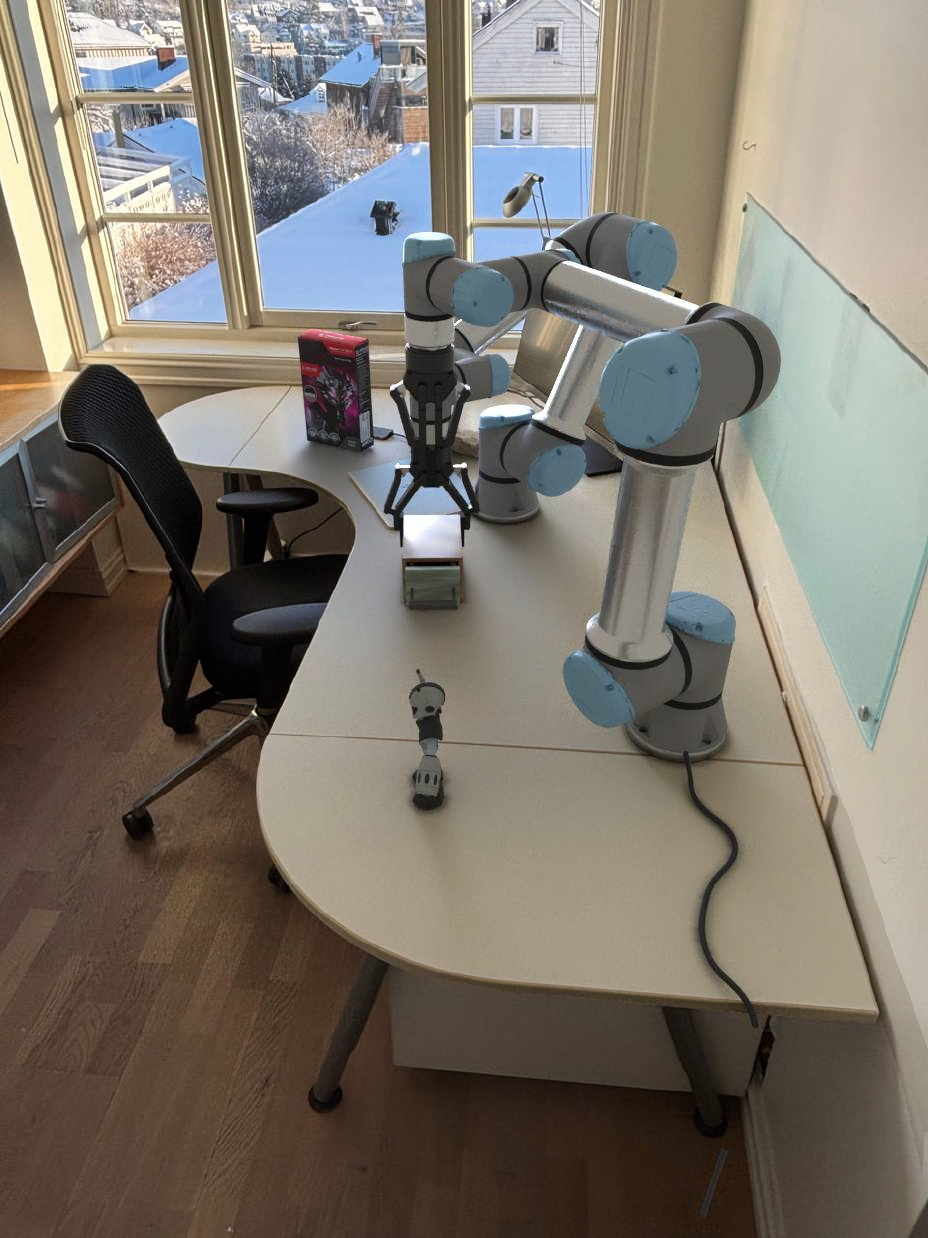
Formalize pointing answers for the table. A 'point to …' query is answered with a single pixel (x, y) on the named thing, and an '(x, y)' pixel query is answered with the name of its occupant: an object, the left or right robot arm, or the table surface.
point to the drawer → (432, 586)
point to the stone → (466, 442)
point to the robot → (428, 742)
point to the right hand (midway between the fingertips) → (431, 483)
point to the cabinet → (432, 542)
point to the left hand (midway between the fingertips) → (432, 543)
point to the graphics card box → (336, 389)
